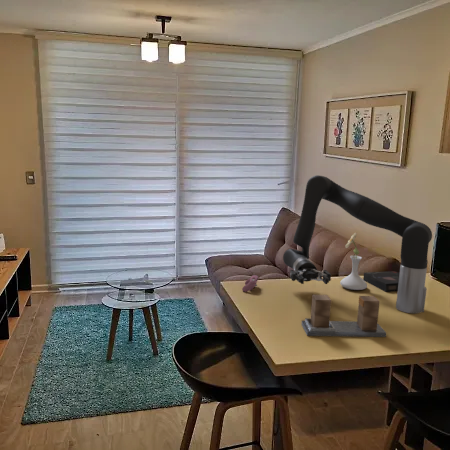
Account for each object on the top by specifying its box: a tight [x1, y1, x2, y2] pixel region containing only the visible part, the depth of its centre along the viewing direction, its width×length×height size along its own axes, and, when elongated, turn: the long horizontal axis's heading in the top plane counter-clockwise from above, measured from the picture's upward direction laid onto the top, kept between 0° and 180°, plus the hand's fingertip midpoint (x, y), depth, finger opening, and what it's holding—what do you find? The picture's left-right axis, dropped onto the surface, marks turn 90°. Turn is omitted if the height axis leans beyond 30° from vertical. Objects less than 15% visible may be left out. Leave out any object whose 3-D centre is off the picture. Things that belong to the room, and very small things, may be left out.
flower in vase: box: [339, 232, 368, 291], centre depth 199 cm, size 13×11×25 cm
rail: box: [301, 317, 387, 338], centre depth 156 cm, size 26×9×2 cm, turn 93°
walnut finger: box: [310, 294, 333, 328], centre depth 154 cm, size 5×5×10 cm
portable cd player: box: [362, 270, 400, 293], centre depth 208 cm, size 16×17×4 cm
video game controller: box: [241, 274, 259, 293], centre depth 195 cm, size 10×5×7 cm, turn 170°
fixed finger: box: [356, 295, 381, 330], centre depth 155 cm, size 5×5×10 cm
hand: (314, 281), depth 164 cm, fingers open, 8 cm apart
